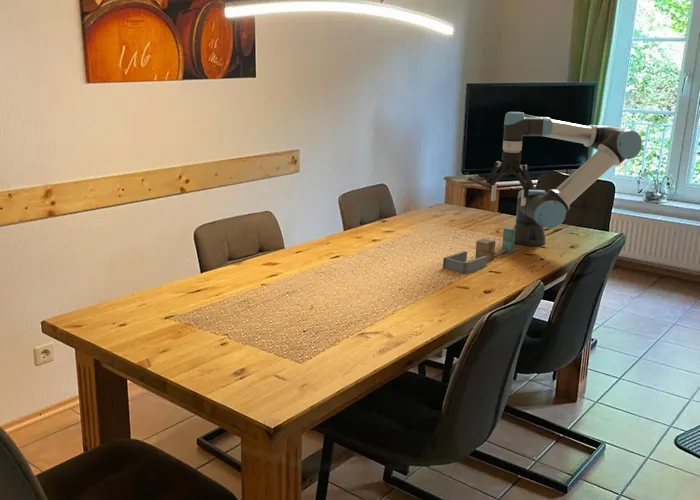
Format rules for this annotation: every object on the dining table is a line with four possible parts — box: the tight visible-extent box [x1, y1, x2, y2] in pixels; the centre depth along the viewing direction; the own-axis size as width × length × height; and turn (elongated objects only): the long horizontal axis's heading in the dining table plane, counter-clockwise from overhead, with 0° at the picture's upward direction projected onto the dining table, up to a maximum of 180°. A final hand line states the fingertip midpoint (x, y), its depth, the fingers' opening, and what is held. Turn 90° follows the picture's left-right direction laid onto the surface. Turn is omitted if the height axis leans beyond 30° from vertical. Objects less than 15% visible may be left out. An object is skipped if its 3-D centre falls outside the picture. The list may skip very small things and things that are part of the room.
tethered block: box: [474, 226, 516, 263], centre depth 279 cm, size 22×5×10 cm, turn 137°
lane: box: [442, 250, 488, 275], centre depth 265 cm, size 14×10×4 cm
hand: (507, 203), depth 283 cm, fingers open, 13 cm apart
